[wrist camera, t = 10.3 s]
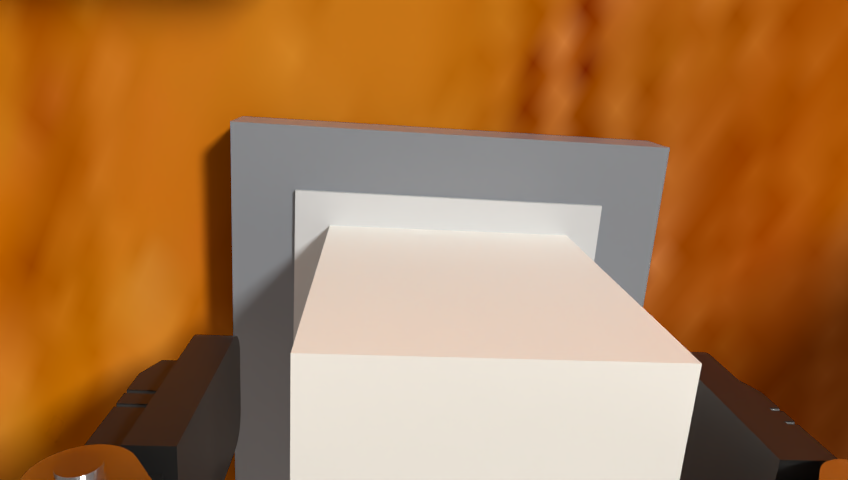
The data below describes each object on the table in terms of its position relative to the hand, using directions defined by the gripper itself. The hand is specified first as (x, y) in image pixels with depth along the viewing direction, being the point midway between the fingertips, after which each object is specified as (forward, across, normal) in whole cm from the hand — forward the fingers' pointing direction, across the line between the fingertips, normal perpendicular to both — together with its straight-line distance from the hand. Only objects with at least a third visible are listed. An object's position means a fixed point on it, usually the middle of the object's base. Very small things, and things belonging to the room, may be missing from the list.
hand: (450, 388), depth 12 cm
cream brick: (+2, 0, 0) cm, 2 cm away
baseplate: (+3, 0, 0) cm, 3 cm away
